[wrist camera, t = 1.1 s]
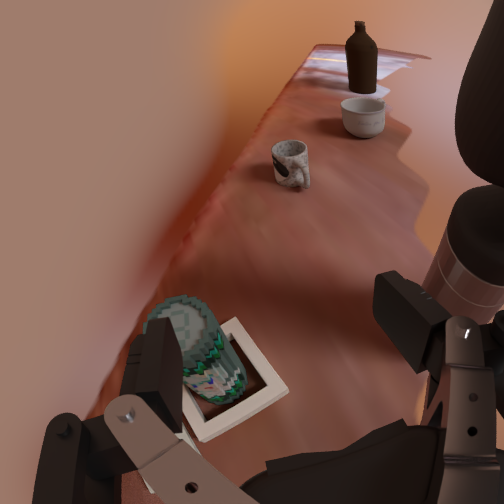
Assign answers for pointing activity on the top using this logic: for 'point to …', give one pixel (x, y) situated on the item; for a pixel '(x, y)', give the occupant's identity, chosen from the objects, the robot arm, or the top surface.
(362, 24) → the olive oil
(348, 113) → the teacup
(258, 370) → the well rim
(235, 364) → the can
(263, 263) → the top surface
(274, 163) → the mug
